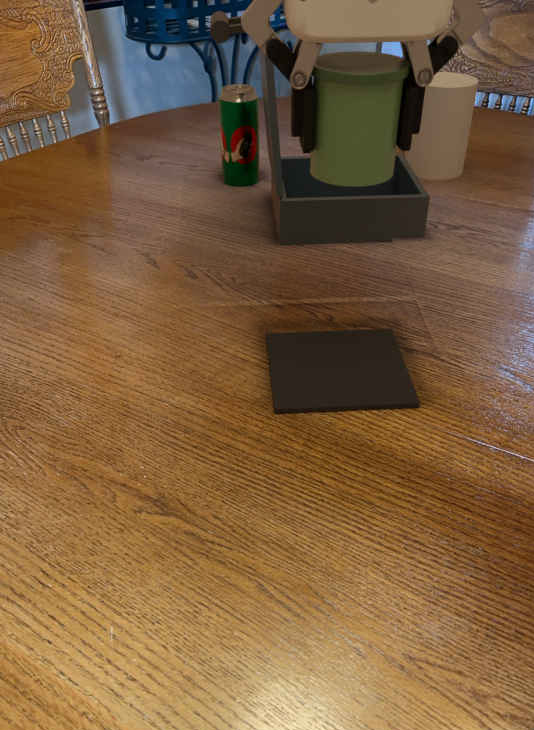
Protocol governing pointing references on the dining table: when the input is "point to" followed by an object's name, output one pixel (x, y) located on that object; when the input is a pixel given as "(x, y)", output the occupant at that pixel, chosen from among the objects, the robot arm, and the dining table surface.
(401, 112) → the robot arm
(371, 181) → the pot
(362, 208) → the grey storage tray
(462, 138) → the beige cylinder
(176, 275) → the dining table surface
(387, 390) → the plate
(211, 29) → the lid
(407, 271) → the dining table surface
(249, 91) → the soda can
